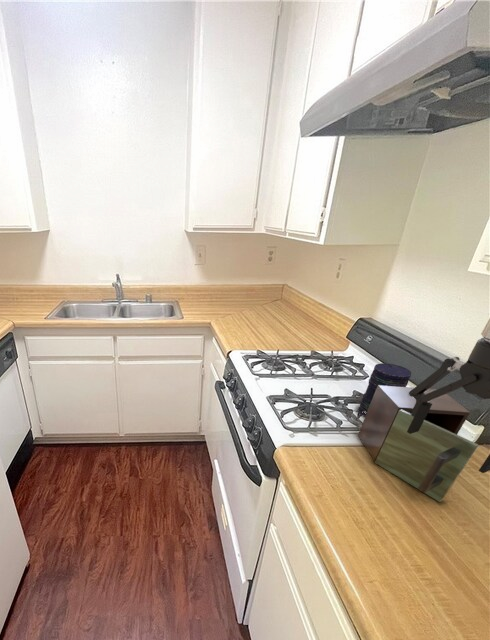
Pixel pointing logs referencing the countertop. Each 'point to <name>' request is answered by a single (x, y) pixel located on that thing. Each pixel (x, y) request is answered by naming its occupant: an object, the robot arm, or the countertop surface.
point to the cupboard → (397, 398)
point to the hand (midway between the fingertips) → (445, 449)
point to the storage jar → (383, 381)
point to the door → (425, 455)
